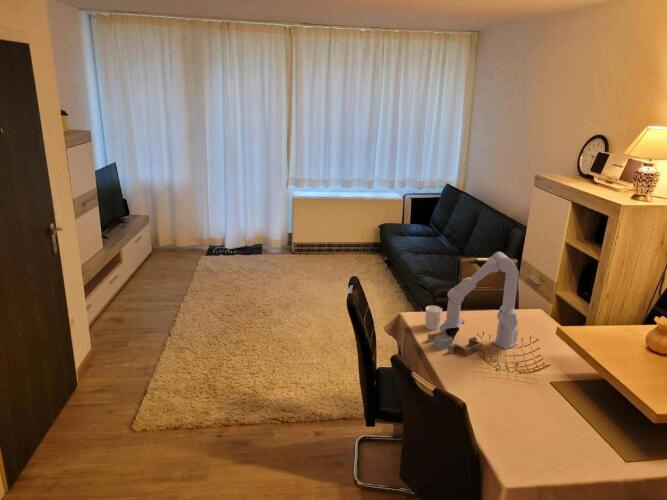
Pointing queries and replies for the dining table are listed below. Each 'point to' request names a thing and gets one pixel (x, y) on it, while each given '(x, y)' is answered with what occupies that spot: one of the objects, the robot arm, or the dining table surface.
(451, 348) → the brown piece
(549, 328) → the dining table surface
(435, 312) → the white cup
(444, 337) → the block
